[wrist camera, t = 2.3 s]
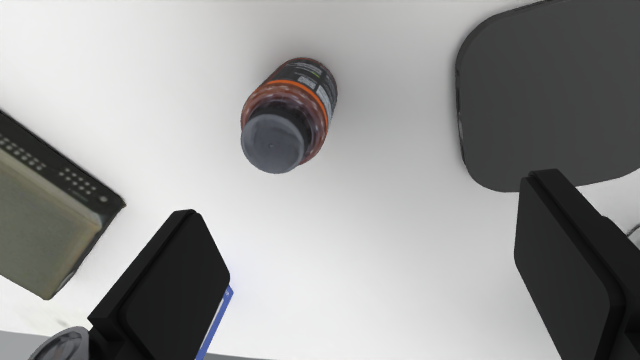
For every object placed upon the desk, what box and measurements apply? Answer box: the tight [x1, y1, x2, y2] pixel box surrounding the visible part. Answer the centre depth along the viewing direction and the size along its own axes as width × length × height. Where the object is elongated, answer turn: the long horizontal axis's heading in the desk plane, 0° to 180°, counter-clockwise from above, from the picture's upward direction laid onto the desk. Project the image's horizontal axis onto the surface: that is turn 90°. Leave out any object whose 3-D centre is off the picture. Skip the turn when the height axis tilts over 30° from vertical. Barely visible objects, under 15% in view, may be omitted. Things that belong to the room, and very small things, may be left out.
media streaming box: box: [456, 0, 640, 192], centre depth 26 cm, size 15×15×3 cm
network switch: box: [0, 113, 126, 300], centre depth 40 cm, size 23×24×5 cm
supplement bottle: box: [240, 58, 337, 174], centre depth 25 cm, size 6×6×11 cm
